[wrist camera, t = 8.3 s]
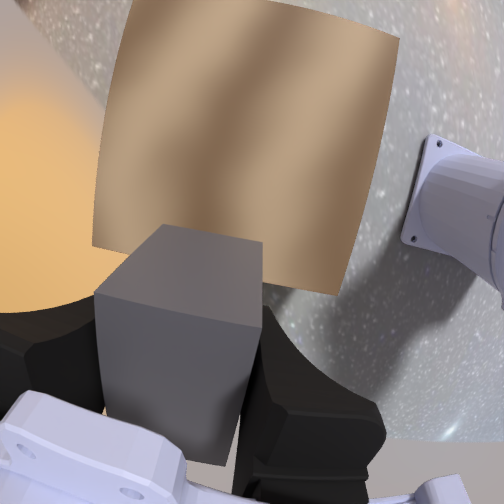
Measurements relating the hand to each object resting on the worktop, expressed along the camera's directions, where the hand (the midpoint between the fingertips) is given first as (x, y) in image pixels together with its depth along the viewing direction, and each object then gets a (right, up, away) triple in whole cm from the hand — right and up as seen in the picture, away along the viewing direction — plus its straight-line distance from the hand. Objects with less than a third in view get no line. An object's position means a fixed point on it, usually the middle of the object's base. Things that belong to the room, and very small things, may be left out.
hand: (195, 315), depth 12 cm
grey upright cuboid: (0, 0, +2) cm, 2 cm away
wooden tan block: (+1, +8, +3) cm, 9 cm away
